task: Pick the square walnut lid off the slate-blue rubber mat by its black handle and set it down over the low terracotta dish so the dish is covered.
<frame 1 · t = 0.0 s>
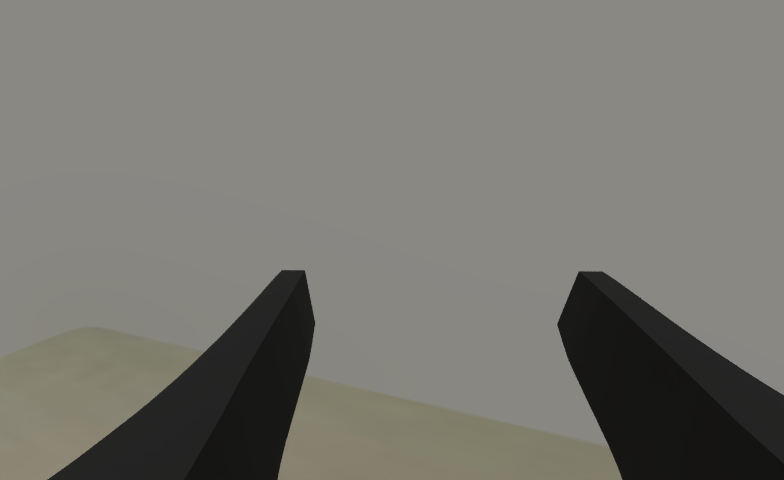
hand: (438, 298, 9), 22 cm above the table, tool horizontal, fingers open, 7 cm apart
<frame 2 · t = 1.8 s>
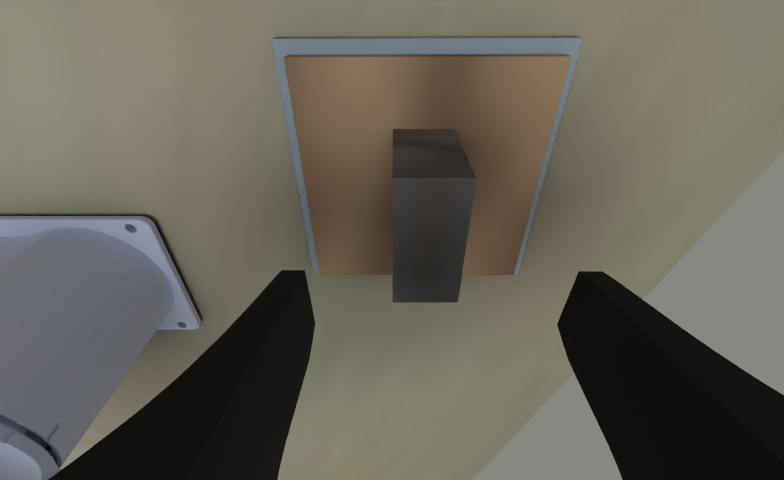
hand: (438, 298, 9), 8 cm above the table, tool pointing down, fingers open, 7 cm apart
lid: (420, 180, 15), resting on mat
mat: (419, 175, 16), on the table
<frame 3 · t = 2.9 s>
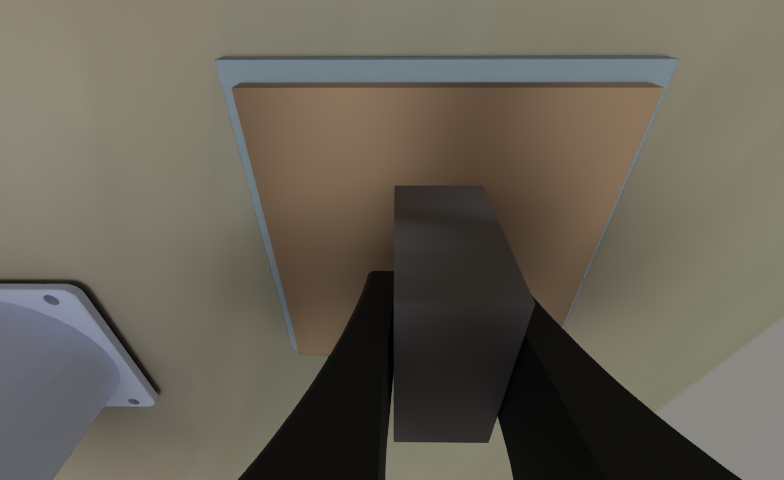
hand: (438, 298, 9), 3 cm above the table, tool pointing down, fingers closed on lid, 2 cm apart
lid: (430, 245, 11), resting on mat, touching gripper
mat: (429, 237, 12), on the table
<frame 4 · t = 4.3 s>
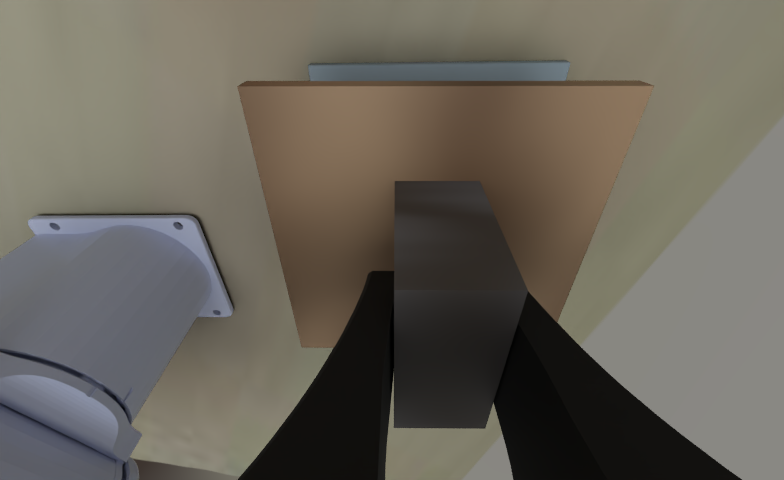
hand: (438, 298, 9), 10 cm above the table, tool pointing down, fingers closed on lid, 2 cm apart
lid: (429, 240, 12), point 7 cm above the table, touching gripper
mat: (430, 178, 18), on the table
when the fingers open (8 cm above the table, at t = 5.7 s): lid stays where it is, resting on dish.
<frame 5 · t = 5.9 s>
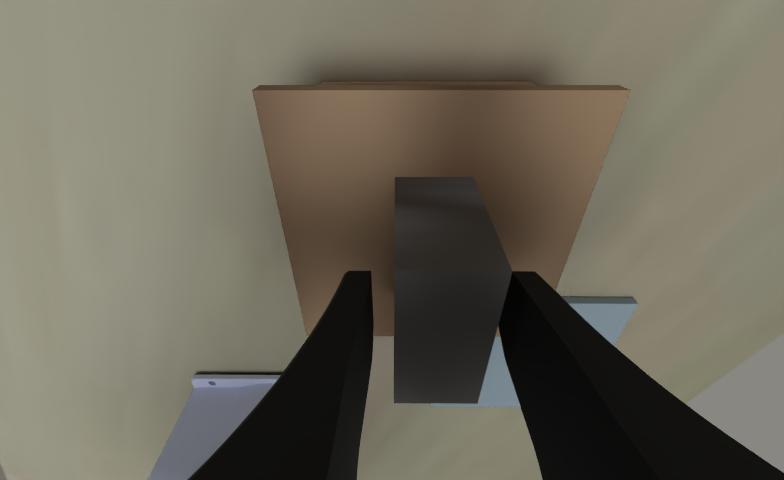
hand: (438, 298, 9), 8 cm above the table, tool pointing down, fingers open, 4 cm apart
lid: (427, 233, 13), point 4 cm above the table, touching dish
mat: (517, 355, 23), on the table
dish: (421, 177, 16), on the table
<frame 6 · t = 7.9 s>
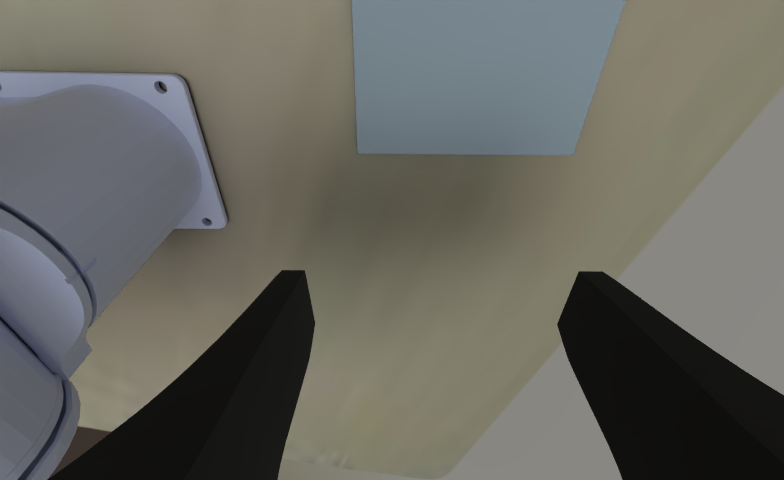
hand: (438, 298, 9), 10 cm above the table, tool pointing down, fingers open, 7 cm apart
mat: (482, 26, 15), on the table
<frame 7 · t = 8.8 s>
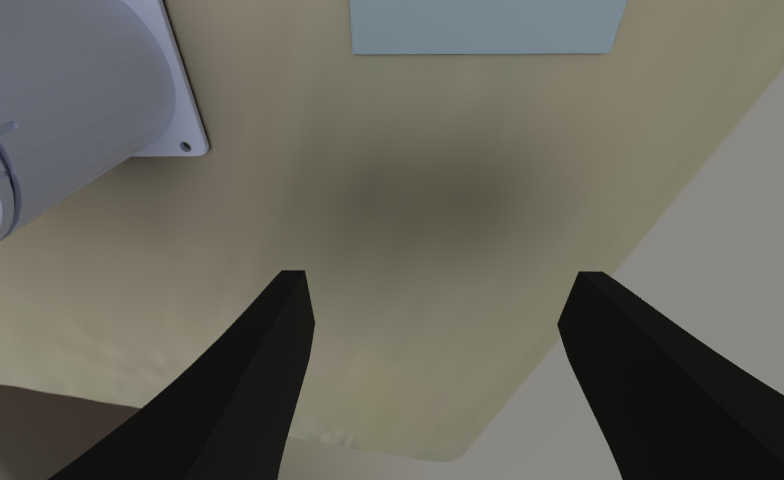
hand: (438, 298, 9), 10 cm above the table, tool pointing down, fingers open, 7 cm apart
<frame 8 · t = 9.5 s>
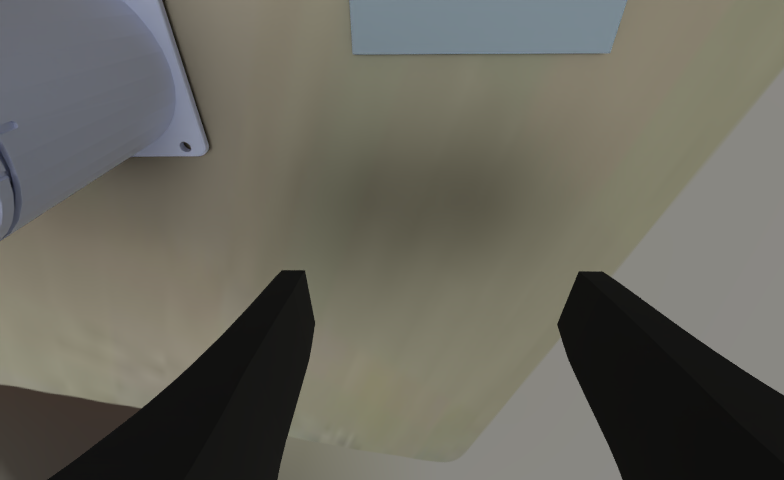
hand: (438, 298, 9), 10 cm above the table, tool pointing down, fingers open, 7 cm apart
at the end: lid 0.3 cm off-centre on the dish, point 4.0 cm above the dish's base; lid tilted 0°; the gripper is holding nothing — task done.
